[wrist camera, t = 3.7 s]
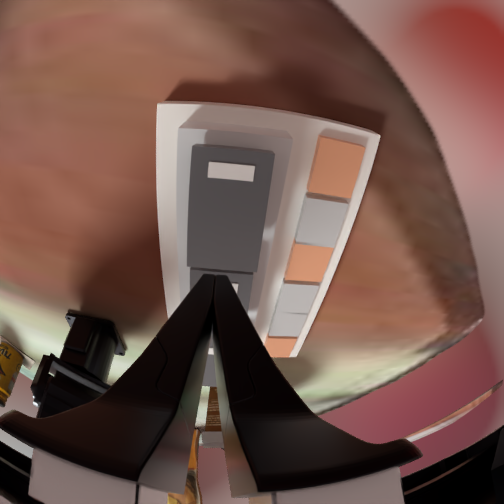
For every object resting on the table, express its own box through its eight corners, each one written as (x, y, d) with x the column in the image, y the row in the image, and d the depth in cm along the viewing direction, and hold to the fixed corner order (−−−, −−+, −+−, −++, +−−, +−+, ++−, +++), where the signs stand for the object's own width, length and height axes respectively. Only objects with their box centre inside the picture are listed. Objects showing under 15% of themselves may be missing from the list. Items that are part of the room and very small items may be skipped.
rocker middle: (242, 335, 19) (242, 348, 18) (192, 331, 19) (190, 344, 18) (252, 264, 17) (253, 275, 15) (192, 259, 16) (189, 270, 15)
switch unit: (294, 345, 29) (298, 376, 26) (175, 338, 28) (169, 370, 24) (370, 129, 15) (400, 147, 12) (164, 100, 14) (142, 110, 11)
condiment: (0, 334, 31) (-23, 387, 21) (35, 360, 35) (16, 414, 25) (-2, 345, 33) (-21, 392, 24) (30, 368, 37) (14, 416, 28)
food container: (279, 399, 39) (284, 456, 31) (244, 405, 40) (245, 460, 32) (247, 368, 32) (249, 443, 24) (205, 376, 33) (201, 446, 25)
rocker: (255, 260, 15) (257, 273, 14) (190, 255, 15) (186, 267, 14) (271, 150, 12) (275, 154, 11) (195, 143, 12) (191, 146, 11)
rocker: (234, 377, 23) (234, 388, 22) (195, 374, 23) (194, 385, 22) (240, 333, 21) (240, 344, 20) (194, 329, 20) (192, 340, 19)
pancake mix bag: (217, 431, 51) (217, 540, 29) (172, 439, 59) (167, 528, 36) (193, 425, 48) (189, 541, 26) (151, 433, 56) (143, 525, 33)
